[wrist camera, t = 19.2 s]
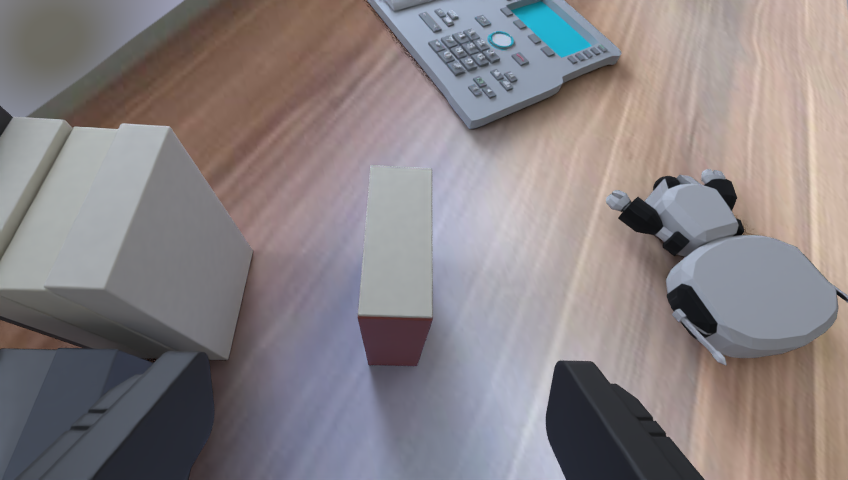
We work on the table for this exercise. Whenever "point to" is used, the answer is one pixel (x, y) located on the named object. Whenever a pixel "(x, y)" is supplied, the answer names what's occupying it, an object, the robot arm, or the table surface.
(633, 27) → the table surface
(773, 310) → the robot toy
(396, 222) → the cream book
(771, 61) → the table surface
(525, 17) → the office telephone
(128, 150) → the white books
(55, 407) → the grey books
